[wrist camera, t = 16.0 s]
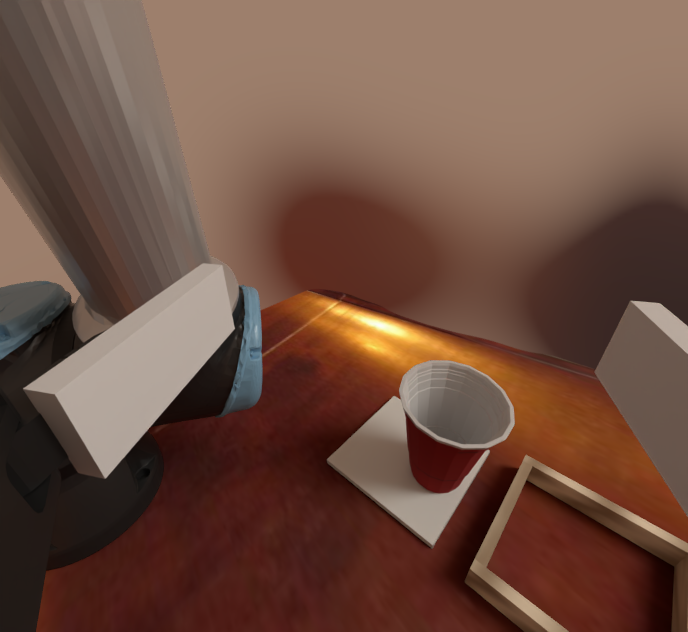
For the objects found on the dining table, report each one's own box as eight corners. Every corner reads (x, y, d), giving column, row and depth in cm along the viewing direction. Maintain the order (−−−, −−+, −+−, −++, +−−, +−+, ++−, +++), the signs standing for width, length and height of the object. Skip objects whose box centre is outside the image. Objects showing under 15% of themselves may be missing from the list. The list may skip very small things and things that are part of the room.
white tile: (326, 462, 41) (326, 459, 40) (393, 399, 50) (393, 395, 49) (432, 548, 33) (432, 545, 32) (488, 454, 42) (490, 451, 41)
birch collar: (464, 582, 30) (469, 568, 29) (519, 468, 40) (526, 454, 39) (685, 765, 22) (707, 758, 21) (688, 565, 31) (703, 552, 30)
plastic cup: (443, 544, 32) (469, 466, 26) (370, 462, 40) (376, 386, 33) (507, 480, 38) (540, 404, 32) (432, 419, 45) (447, 347, 39)
